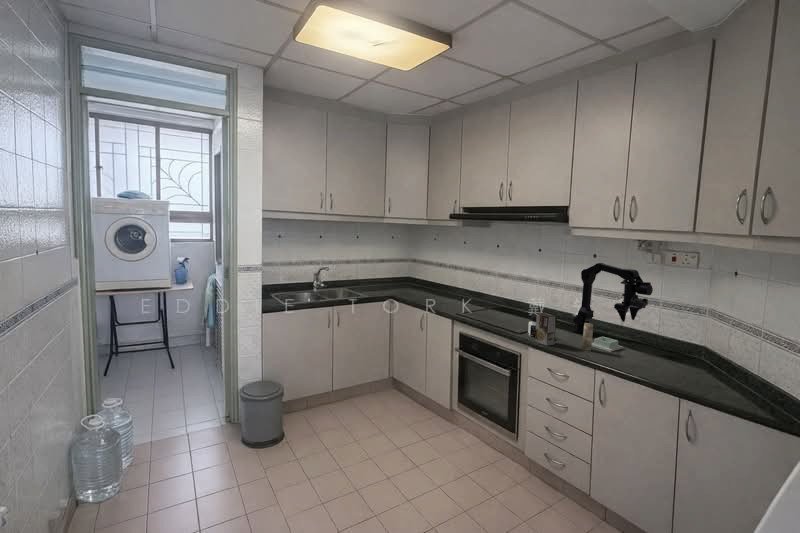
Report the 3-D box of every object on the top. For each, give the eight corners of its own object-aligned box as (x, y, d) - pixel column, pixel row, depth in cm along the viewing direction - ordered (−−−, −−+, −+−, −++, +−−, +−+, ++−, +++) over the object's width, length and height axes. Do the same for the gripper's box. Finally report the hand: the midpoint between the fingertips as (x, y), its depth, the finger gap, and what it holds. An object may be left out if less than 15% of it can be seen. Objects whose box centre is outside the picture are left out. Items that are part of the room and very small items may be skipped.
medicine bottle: (529, 336, 233) (531, 316, 231) (527, 333, 240) (529, 313, 238) (542, 337, 232) (544, 317, 230) (540, 333, 239) (541, 314, 237)
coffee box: (555, 344, 219) (557, 316, 217) (546, 345, 217) (548, 317, 215) (542, 339, 228) (545, 312, 225) (534, 340, 225) (536, 313, 223)
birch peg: (580, 349, 213) (582, 323, 211) (585, 347, 216) (587, 322, 214) (588, 351, 210) (590, 325, 208) (592, 350, 212) (595, 324, 210)
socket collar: (589, 345, 220) (589, 338, 219) (601, 342, 226) (601, 335, 226) (610, 351, 210) (611, 344, 209) (622, 348, 216) (623, 341, 216)
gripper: (635, 296, 205) (633, 326, 206) (654, 293, 214) (652, 322, 216) (614, 293, 215) (612, 321, 216) (634, 290, 224) (632, 317, 225)
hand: (628, 320), depth 218 cm, fingers open, 9 cm apart
